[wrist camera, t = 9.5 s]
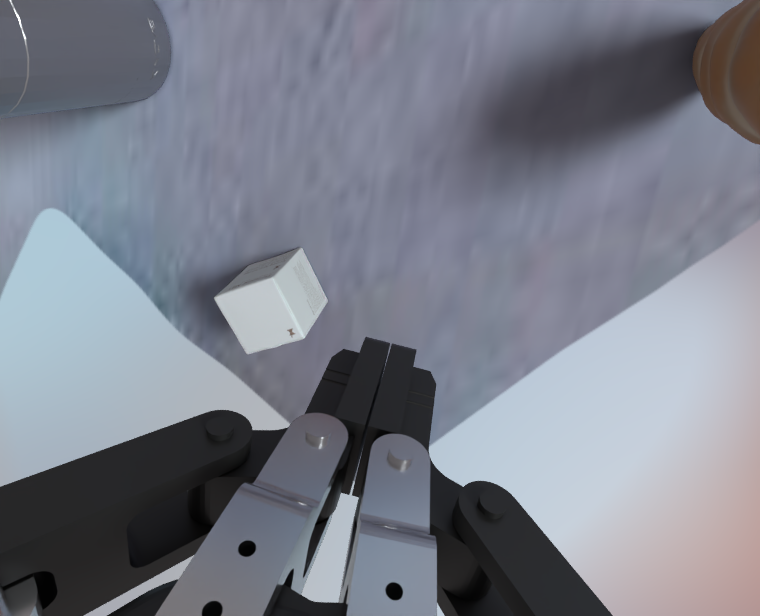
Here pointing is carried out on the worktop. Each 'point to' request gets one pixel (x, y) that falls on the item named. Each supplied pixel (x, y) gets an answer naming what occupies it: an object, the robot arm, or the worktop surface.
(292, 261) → the product box
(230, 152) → the worktop surface
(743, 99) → the brown ridged ovoid
